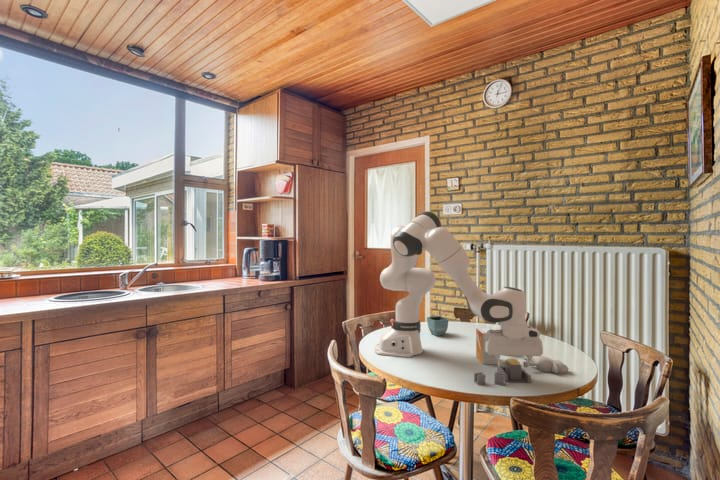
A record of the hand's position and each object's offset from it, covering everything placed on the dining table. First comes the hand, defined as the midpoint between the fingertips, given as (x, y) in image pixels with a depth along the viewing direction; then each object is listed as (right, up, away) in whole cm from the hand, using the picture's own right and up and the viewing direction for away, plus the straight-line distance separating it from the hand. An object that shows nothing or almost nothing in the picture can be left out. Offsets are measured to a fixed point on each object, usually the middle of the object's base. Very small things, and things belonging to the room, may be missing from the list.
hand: (513, 366), depth 129 cm
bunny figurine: (+16, -4, +7) cm, 18 cm away
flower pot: (-15, -4, +58) cm, 60 cm away
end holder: (0, -4, 0) cm, 4 cm away
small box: (-4, -4, +18) cm, 19 cm away
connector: (0, -4, 0) cm, 4 cm away
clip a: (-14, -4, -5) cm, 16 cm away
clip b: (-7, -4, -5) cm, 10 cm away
